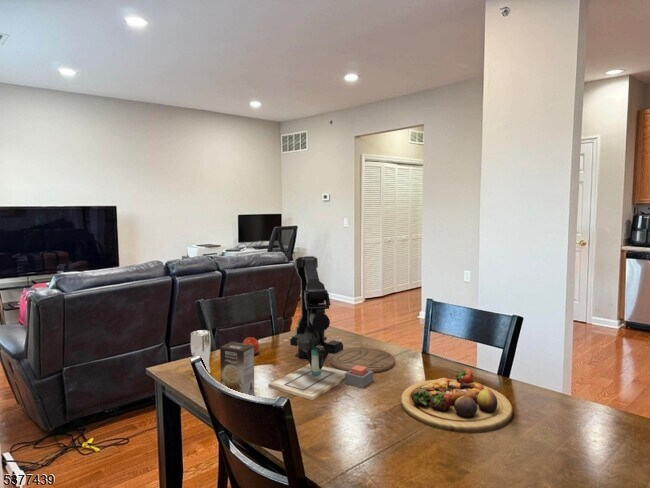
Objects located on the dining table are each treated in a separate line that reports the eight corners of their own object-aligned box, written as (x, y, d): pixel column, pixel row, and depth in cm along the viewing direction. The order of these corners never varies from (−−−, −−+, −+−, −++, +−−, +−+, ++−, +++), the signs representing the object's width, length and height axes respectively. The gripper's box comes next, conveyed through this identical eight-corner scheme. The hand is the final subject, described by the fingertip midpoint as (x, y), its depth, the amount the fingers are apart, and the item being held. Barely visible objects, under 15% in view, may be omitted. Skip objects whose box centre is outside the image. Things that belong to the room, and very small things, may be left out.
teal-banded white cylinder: (315, 371, 158) (314, 346, 157) (323, 373, 156) (322, 347, 155) (309, 374, 155) (309, 348, 154) (317, 376, 153) (317, 350, 152)
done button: (356, 373, 155) (356, 365, 155) (367, 376, 153) (367, 367, 152) (350, 377, 152) (350, 368, 151) (361, 379, 149) (361, 371, 149)
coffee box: (219, 396, 142) (218, 346, 140) (232, 388, 147) (231, 341, 146) (244, 401, 138) (242, 350, 136) (255, 393, 144) (254, 344, 142)
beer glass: (214, 370, 164) (213, 330, 163) (207, 377, 157) (206, 335, 156) (196, 369, 165) (194, 329, 164) (188, 376, 158) (187, 335, 157)
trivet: (405, 359, 176) (405, 354, 176) (377, 380, 155) (377, 374, 155) (349, 348, 189) (349, 344, 189) (316, 366, 168) (316, 361, 168)
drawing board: (310, 365, 168) (310, 362, 168) (352, 375, 158) (352, 372, 158) (268, 387, 149) (268, 383, 149) (312, 400, 139) (312, 396, 138)
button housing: (355, 376, 157) (355, 367, 157) (373, 381, 153) (373, 371, 153) (344, 383, 151) (344, 373, 151) (363, 388, 147) (363, 377, 147)
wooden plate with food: (437, 377, 157) (437, 354, 156) (530, 405, 134) (531, 379, 133) (379, 409, 135) (378, 382, 134) (479, 448, 112) (479, 416, 111)
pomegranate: (245, 363, 177) (265, 347, 178) (233, 349, 177) (253, 333, 178) (246, 359, 185) (265, 343, 186) (235, 345, 184) (254, 329, 185)
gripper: (279, 324, 153) (280, 369, 154) (325, 333, 142) (325, 381, 143) (299, 317, 162) (300, 360, 163) (344, 325, 151) (344, 370, 153)
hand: (316, 367), depth 155 cm, fingers closed on teal-banded white cylinder, 3 cm apart
